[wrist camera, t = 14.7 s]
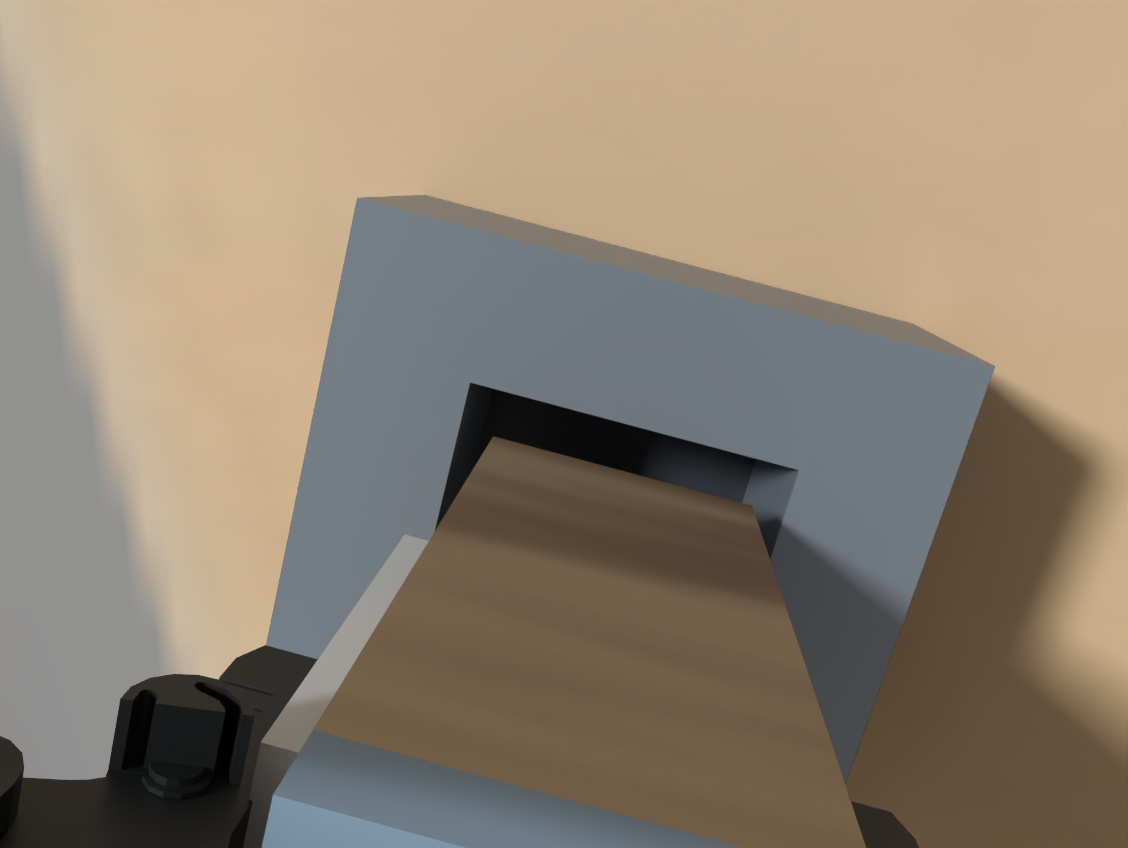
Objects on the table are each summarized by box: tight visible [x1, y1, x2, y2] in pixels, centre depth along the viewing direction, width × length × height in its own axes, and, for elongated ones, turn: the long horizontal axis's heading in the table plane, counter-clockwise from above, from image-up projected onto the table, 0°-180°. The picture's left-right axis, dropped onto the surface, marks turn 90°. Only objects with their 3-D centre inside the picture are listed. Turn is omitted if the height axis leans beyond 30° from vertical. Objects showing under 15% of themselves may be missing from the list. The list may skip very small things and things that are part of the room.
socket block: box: [266, 195, 995, 784], centre depth 24 cm, size 15×12×6 cm
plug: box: [262, 436, 866, 848], centre depth 14 cm, size 5×5×12 cm
